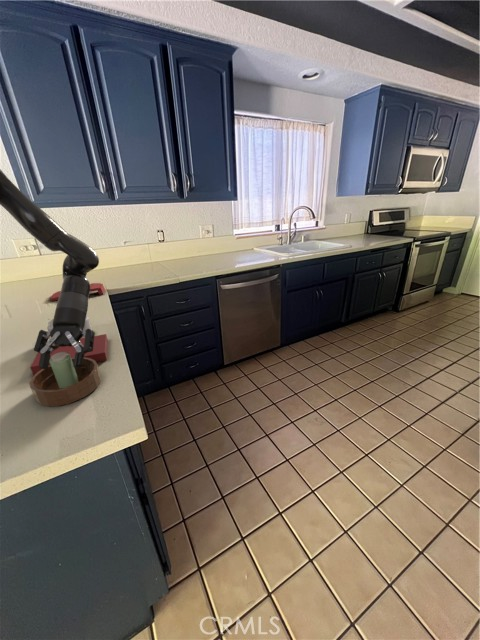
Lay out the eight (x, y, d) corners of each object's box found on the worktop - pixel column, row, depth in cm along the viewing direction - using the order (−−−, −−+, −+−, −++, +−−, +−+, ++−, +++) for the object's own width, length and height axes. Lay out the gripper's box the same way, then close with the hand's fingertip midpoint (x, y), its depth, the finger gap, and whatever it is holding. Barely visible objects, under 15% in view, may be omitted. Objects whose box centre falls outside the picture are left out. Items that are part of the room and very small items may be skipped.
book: (33, 375, 79) (29, 367, 78) (43, 352, 90) (40, 345, 89) (106, 360, 86) (104, 352, 85) (107, 341, 98) (106, 333, 96)
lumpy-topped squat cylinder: (54, 336, 101) (47, 315, 98) (92, 328, 107) (87, 309, 103) (52, 348, 93) (44, 326, 89) (93, 339, 99) (87, 318, 95)
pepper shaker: (58, 393, 70) (46, 362, 66) (61, 383, 74) (50, 353, 70) (78, 389, 72) (68, 358, 68) (80, 379, 76) (70, 349, 72)
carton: (52, 307, 138) (102, 295, 144) (48, 299, 136) (99, 286, 142) (59, 300, 149) (105, 288, 154) (55, 292, 146) (102, 280, 152)
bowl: (28, 415, 64) (21, 399, 62) (43, 378, 77) (38, 364, 75) (99, 397, 70) (95, 382, 68) (102, 366, 83) (98, 352, 81)
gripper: (36, 306, 71) (21, 366, 66) (90, 305, 72) (79, 364, 66) (54, 316, 78) (42, 371, 73) (103, 315, 79) (94, 369, 73)
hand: (60, 368), depth 69 cm, fingers open, 8 cm apart
